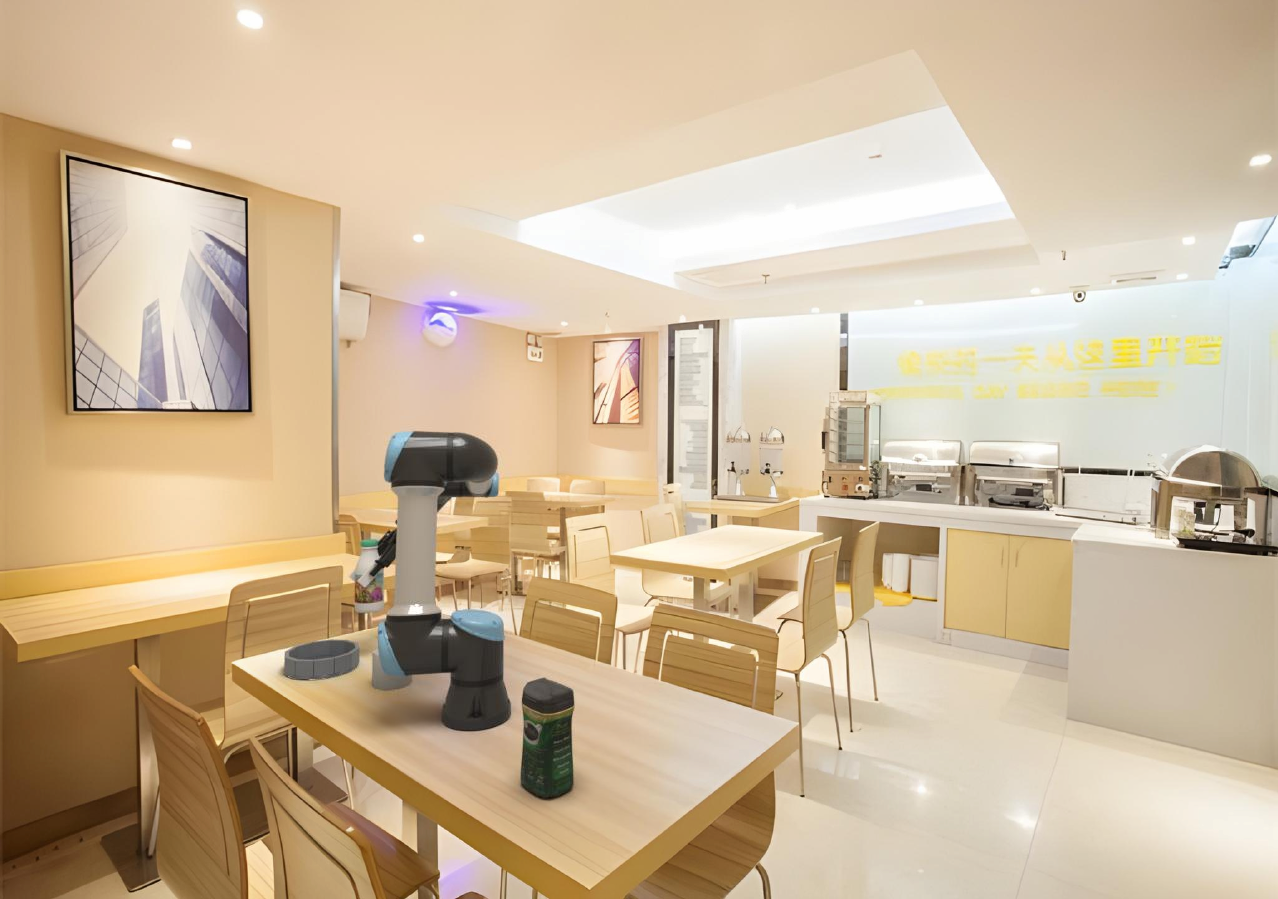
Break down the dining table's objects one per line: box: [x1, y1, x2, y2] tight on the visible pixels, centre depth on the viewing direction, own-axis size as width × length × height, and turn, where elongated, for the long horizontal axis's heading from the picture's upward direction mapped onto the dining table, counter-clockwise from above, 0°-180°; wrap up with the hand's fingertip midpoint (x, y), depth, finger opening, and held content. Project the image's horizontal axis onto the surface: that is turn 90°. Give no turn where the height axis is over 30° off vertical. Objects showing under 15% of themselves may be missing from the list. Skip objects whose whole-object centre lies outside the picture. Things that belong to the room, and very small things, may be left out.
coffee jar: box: [520, 677, 576, 798], centre depth 116 cm, size 10×8×19 cm
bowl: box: [283, 638, 360, 680], centre depth 173 cm, size 18×18×5 cm
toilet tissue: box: [371, 647, 413, 692], centre depth 164 cm, size 9×13×9 cm
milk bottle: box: [354, 538, 385, 614], centre depth 182 cm, size 8×8×20 cm
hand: (356, 581), depth 179 cm, fingers closed on milk bottle, 7 cm apart
